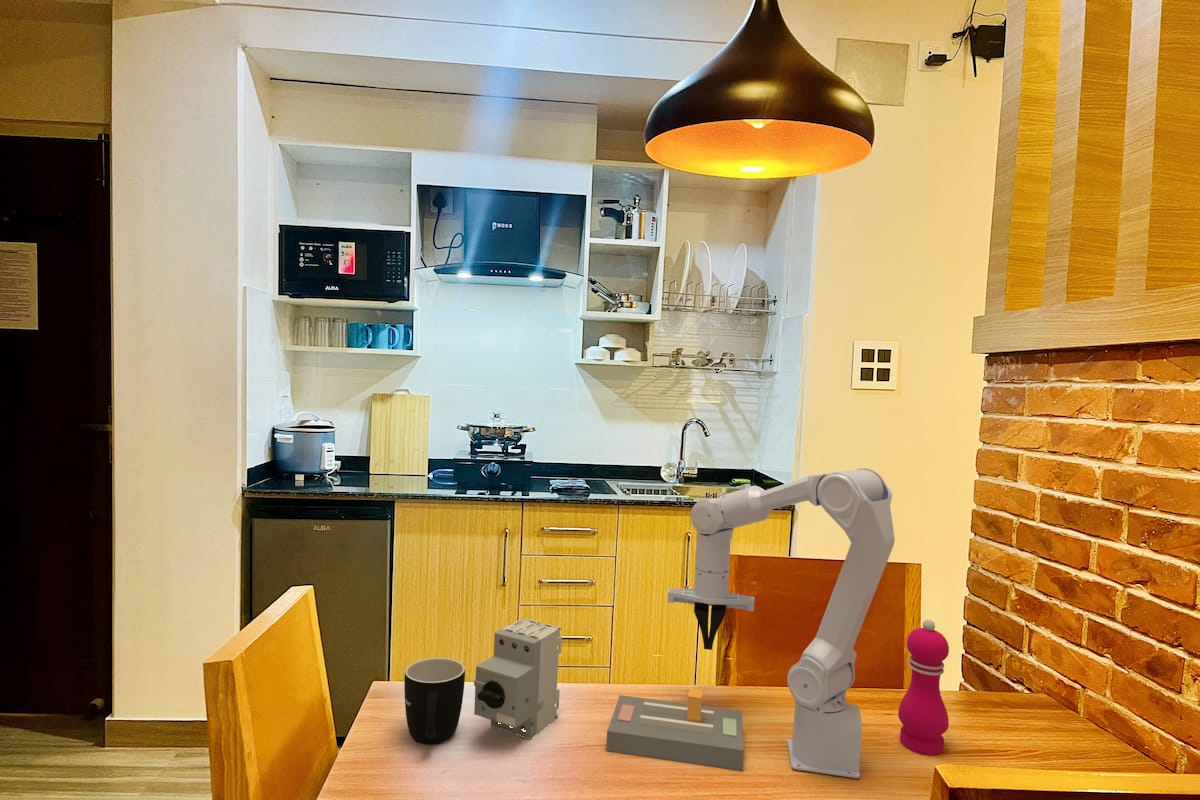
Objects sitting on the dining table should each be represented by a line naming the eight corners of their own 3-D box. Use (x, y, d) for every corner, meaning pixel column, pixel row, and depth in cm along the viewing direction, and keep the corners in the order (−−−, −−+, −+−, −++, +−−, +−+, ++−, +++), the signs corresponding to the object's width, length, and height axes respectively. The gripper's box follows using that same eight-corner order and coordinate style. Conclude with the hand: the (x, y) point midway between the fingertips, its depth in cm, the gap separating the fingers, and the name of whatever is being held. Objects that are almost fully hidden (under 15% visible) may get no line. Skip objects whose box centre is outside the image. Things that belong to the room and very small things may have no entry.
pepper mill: (941, 737, 111) (949, 615, 110) (951, 761, 104) (960, 631, 103) (893, 729, 113) (900, 609, 112) (900, 752, 106) (908, 624, 105)
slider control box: (741, 729, 110) (742, 705, 110) (742, 770, 99) (744, 743, 99) (619, 712, 114) (620, 689, 114) (606, 750, 102) (607, 724, 102)
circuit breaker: (466, 743, 102) (470, 645, 102) (520, 705, 115) (524, 617, 115) (507, 758, 99) (511, 656, 99) (558, 717, 112) (562, 626, 111)
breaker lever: (700, 718, 107) (702, 689, 107) (700, 726, 104) (701, 697, 104) (687, 716, 107) (689, 688, 107) (686, 725, 105) (688, 696, 104)
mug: (405, 720, 108) (408, 657, 108) (463, 718, 110) (466, 656, 110) (396, 763, 97) (398, 693, 96) (460, 760, 98) (463, 691, 98)
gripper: (754, 566, 119) (750, 643, 120) (671, 558, 122) (667, 634, 122) (756, 577, 112) (751, 659, 113) (667, 569, 115) (664, 649, 115)
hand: (708, 647), depth 117 cm, fingers closed
